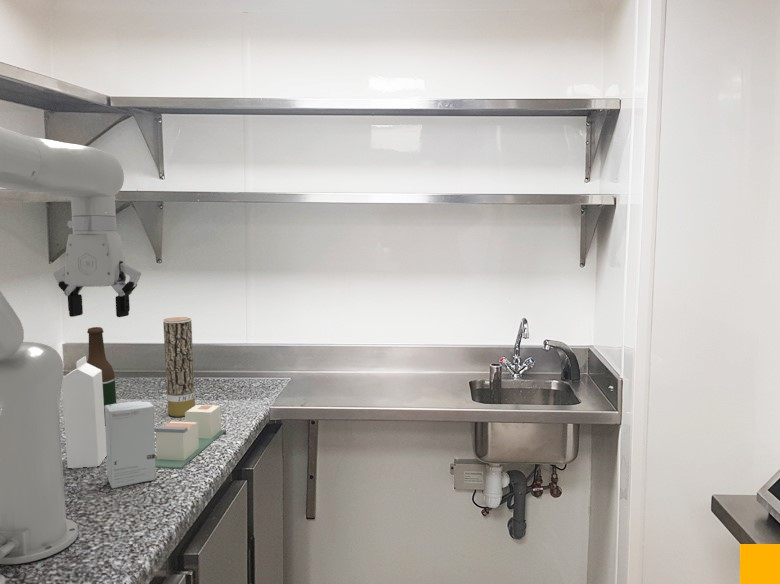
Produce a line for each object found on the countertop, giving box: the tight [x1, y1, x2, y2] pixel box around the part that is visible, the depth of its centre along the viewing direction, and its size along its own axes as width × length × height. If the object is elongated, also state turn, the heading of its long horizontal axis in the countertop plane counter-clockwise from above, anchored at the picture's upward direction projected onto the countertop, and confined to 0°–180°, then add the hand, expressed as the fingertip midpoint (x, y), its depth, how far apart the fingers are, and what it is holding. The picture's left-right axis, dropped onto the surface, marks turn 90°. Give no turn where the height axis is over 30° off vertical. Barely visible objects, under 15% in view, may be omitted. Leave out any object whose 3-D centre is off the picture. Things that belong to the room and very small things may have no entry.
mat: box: [155, 429, 226, 470], centre depth 138 cm, size 23×8×1 cm, turn 172°
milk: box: [61, 355, 107, 469], centre depth 128 cm, size 6×6×22 cm
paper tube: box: [163, 316, 196, 418], centre depth 161 cm, size 7×7×25 cm
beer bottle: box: [86, 326, 117, 417], centre depth 155 cm, size 8×8×24 cm
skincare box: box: [105, 400, 157, 489], centre depth 120 cm, size 8×6×15 cm
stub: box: [184, 404, 222, 439], centre depth 145 cm, size 6×6×6 cm
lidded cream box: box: [154, 420, 199, 461], centre depth 133 cm, size 7×7×7 cm
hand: (99, 316), depth 119 cm, fingers open, 9 cm apart
